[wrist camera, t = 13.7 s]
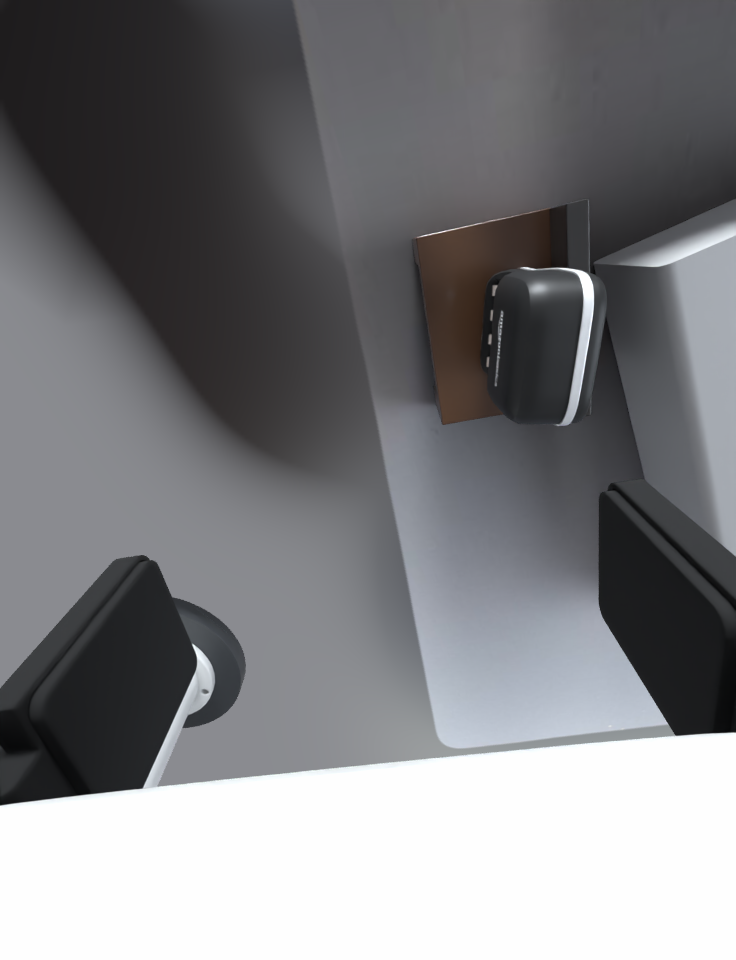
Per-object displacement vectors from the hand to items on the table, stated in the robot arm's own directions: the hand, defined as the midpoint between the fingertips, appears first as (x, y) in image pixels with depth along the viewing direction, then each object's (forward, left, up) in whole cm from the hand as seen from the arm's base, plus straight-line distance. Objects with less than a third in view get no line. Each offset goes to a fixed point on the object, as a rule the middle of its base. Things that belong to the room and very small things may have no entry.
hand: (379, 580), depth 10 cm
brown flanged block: (+7, -3, -29) cm, 30 cm away
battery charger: (+7, -3, -25) cm, 26 cm away
